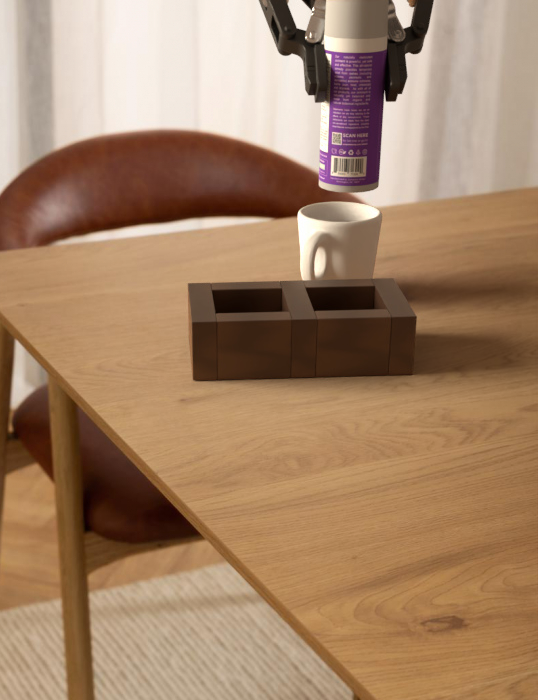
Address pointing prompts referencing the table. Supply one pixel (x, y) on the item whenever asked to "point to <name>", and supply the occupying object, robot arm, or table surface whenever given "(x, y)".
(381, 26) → the container
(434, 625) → the table surface
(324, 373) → the holder
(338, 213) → the cup
